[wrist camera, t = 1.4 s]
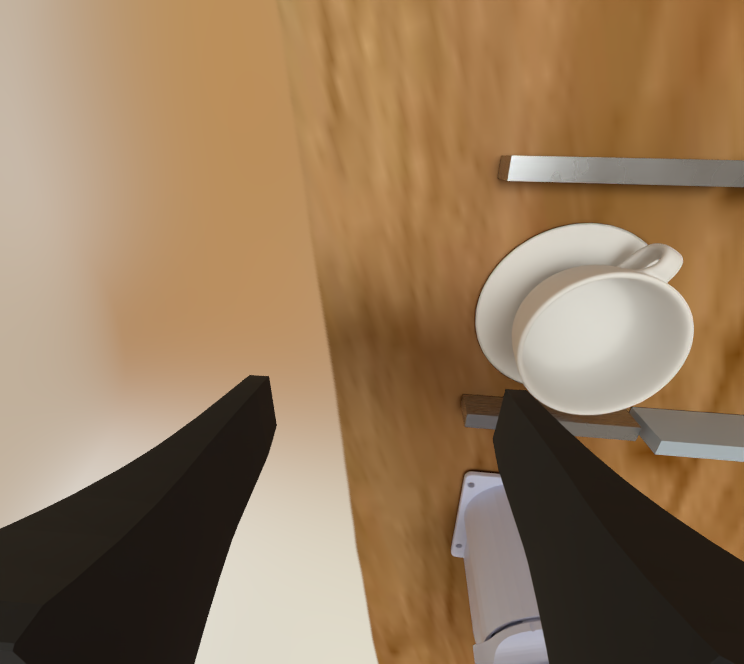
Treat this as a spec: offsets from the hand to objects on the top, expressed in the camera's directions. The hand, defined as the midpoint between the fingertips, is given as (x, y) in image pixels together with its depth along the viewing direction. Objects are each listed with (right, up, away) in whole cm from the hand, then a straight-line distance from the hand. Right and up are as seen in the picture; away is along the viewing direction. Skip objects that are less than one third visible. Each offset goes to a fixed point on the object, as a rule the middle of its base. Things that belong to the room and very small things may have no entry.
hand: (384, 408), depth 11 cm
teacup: (+11, +4, +10) cm, 15 cm away
